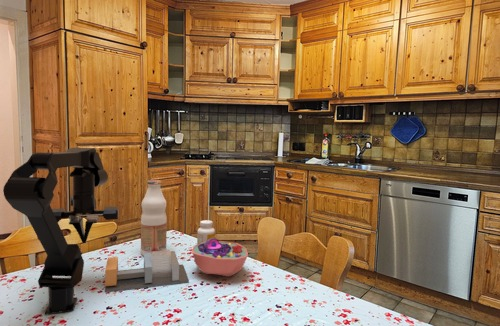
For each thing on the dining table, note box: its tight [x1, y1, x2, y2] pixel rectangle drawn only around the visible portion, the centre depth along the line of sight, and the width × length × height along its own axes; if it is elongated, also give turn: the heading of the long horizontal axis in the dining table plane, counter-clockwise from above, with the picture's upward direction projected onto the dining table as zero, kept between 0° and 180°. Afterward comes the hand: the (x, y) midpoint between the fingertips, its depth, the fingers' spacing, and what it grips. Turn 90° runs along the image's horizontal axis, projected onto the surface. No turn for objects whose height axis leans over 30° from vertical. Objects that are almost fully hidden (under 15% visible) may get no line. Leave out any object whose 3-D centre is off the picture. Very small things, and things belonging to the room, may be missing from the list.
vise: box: [104, 250, 190, 293], centre depth 105 cm, size 13×24×6 cm, turn 109°
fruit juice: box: [140, 179, 168, 257], centre depth 126 cm, size 9×9×28 cm
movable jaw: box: [104, 253, 152, 287], centre depth 103 cm, size 12×13×5 cm
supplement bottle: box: [196, 219, 216, 245], centre depth 127 cm, size 7×7×13 cm
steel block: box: [151, 249, 171, 278], centre depth 106 cm, size 4×6×7 cm, turn 109°
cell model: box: [191, 237, 249, 277], centre depth 110 cm, size 17×20×11 cm
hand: (84, 242), depth 98 cm, fingers closed
